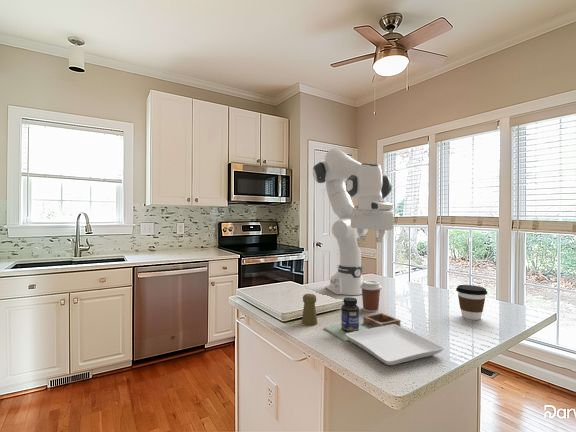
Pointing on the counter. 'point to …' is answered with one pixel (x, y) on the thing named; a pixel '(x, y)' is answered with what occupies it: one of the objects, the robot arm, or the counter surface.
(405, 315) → the counter surface
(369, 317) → the walnut collar
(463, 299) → the coffee cup
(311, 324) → the cork
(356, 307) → the pill bottle
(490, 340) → the counter surface
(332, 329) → the sage mat
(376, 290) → the coffee cup
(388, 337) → the salad plate
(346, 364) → the counter surface
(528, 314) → the counter surface
